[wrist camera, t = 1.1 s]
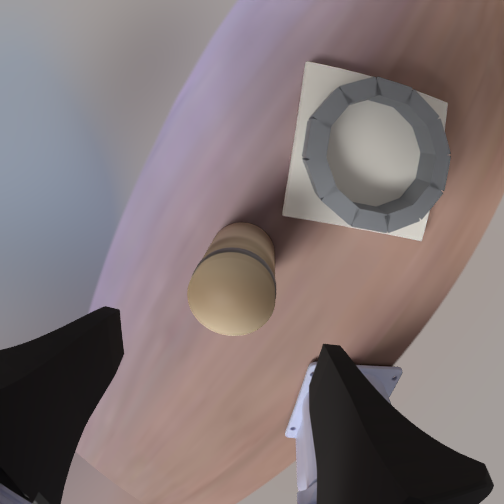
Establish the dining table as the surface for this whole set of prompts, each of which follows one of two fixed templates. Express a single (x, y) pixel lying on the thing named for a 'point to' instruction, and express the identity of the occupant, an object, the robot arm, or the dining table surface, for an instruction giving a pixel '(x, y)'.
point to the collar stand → (366, 153)
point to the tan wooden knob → (235, 281)
